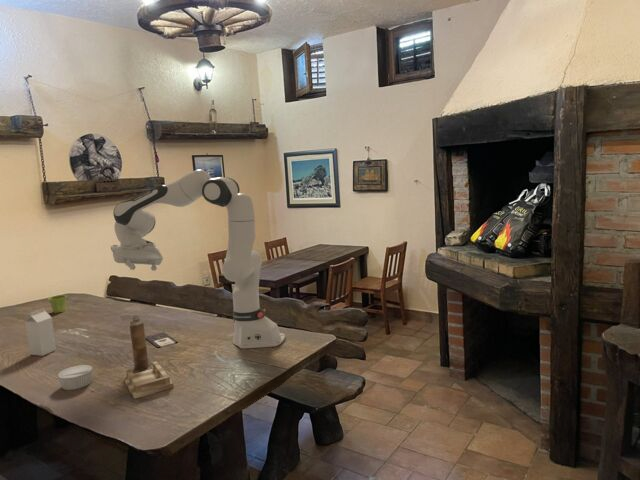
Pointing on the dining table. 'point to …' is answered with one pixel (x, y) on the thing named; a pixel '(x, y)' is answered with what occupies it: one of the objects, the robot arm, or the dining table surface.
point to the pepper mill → (138, 343)
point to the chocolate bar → (161, 340)
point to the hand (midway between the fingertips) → (144, 269)
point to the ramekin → (75, 377)
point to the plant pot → (58, 303)
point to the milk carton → (40, 333)
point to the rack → (147, 381)
